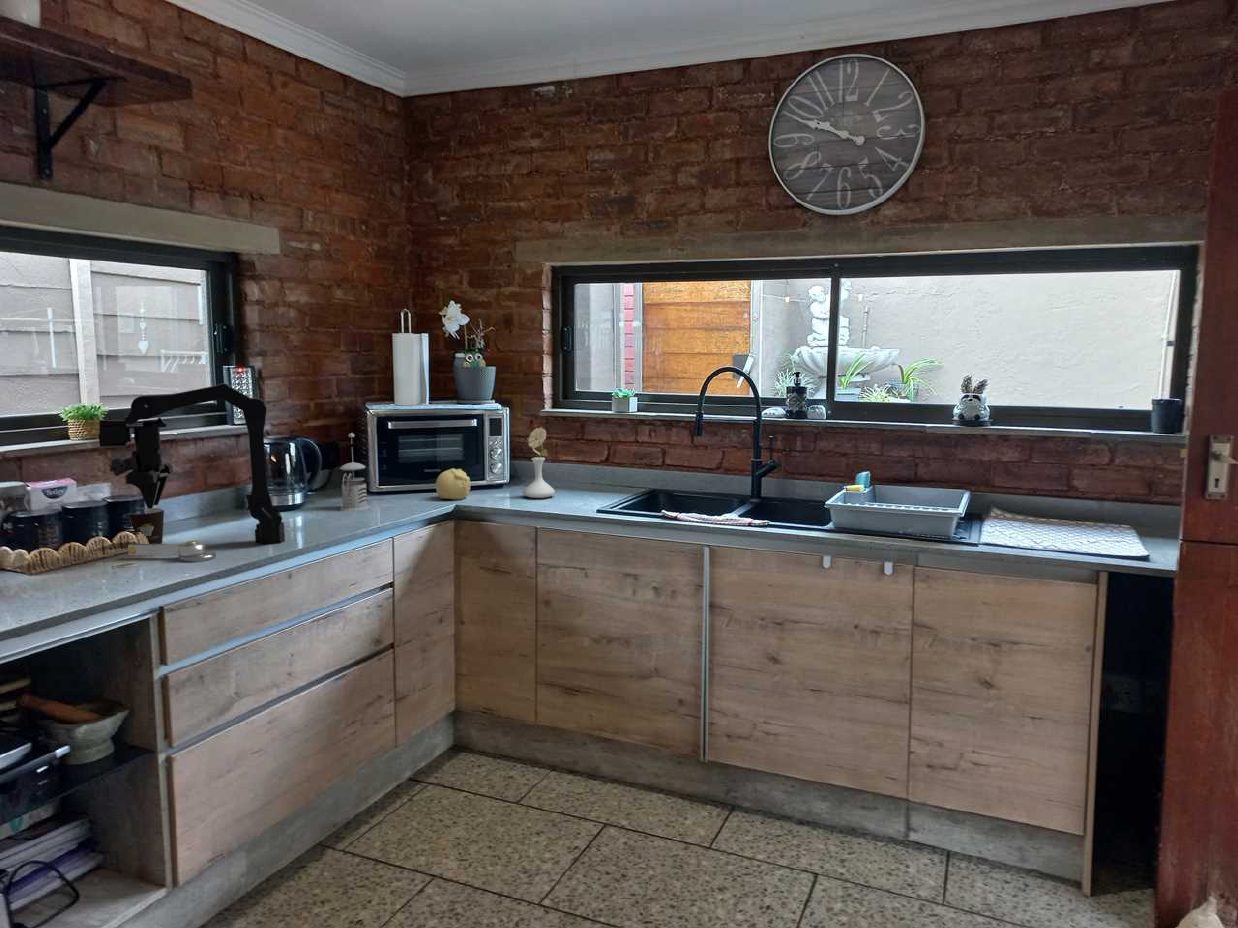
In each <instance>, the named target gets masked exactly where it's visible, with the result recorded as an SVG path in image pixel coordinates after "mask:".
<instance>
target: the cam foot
mask: <svg viewBox="0 0 1238 928" xmlns="http://www.w3.org/2000/svg"><path fill="white" fill-rule="evenodd" d="M127 546H128V547H127V548H128V555H129V556H177V557H178V561H179V562H182V563H199V562H206V561H210V560H213V559H216V558H217V552H216V551H214V550H206V543H205V542H204V541H196V540H190V541H186V542H183V543H161V544H134V543H131V544H127Z"/></svg>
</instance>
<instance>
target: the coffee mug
mask: <svg viewBox="0 0 1238 928" xmlns="http://www.w3.org/2000/svg"><path fill="white" fill-rule="evenodd" d="M144 511H145V514H130V518H131V521H132V526H133V529H134V530H135V531H138V532H141V533H142V534H144V536H146V538H147V539H148V541H149V544H163V537H164V534H163V533H164V519H165V518H164V517H165V509H164V508H163V507H153V508H149V509H148V508H147V507H146V508H145V510H144Z"/></svg>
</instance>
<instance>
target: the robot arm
mask: <svg viewBox="0 0 1238 928" xmlns="http://www.w3.org/2000/svg"><path fill="white" fill-rule="evenodd" d="M218 400H219V401H220V400H223V401H225V402H226V403H228V404H231V405H232V406H233V407H236V408H237V409H239V410H241V411H242V414H243V417H244V421H245V425H246V428H247V433H248V443H249V444H248V445H249V460H250V473H251V474H250V475H251V489H250V491H248V490H247V491H245V497H246V504H245V506H246V508H245V509H246V511H249V513H250V516H251V517H252V518H253V519H254V520H257V521H258V523H256V525H255V527H256V529H254V539H255V540H254V541H255V544H257V545H258V544H259V545H266V546H267V545H269V546H270V545H277V544H278V545H279V544H282V543H284V542H285V541H286V536H285V535H286V534H285V533H286V532H285V522H284V521H282V520H283V516H282V514H281V512H280V511H279V510H278V509H276V507H274V506H273V503H272V500H271V496H270V491H269V488H268V483H267V482H268V481H267V470H266V469H267V467H266V453H265V452H266V451H265V438H264V436H265V435H264V431H265V427H266V426H265V425H266V417H267V406H266V404H265V402H264V400H262V399H261V398H258V397H249V396H247V395H246V394H243V393H242V392H240V391H239V390H236V389H234V388H233V387H231V386H230V385H229V384H227V383H224V382H223V383H218V384H216V385H212V386H206V387H202V388H197V389H192V390H187V391H182V392H176V393H169V394H143V395H139V396H137V397H136V398H134V399H133V400H132V402H131V404H130V410H131V411H130V412H129V413H128V414H127V415H126V416H124V418H125V419H113V420H112V419H111V420H109V419H101V420H99V422H98V423H99V431H98V432H99V433H98V441H99V442H98V443H99V447H100V448H103V449H104V448H105V449H106V448H119V447H120V448H122V447H123V448H124V447H126V448H127V447H128V444H129V443H132V439H134V450H132V452H131V457H128V458H125V459H122V458H121V457H117V458H115V459H112V460H111V463H110V464H109V471H110V472H113V475H114V477H119V476H120V475H123V474H126V473H127V472H128V473H127V474H126V475H125V476H124V477H125V485H131V486H134V487H136V488H137V489H139V491H140V493H141V495H142V498H143V501H144V502H145V506H146V508H148V509H149V508H154V506H158V505H159V503H160V500H161V498H162V496H163V493H164V490H165V487H166V485H167V483H168V481H169V478H170V475H172V474H173V473H174V467H173V465H172V463H170V462H163V456H162V453H164V452H165V451H164V447H162V446H161V445H162V443H161V434H160V428H166V427H168V423H167V422H166V421H164V420H163V419H162V418H161V417H158V418H157V419H156V420H149V419H151V418H155V417H156V416H159V415H161V414H165V413H167V412H169V411H172V410H175V409H179V408H184V407H189V406H194V405H200V404H205V403H209V402H214V401H218ZM140 420H143V421H142V424H136V423H138V421H140ZM134 424H135V425H134ZM132 429H133V437H132ZM164 474H168V475H166V476H165V475H164Z"/></svg>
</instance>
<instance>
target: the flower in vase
mask: <svg viewBox="0 0 1238 928" xmlns="http://www.w3.org/2000/svg"><path fill="white" fill-rule="evenodd" d="M546 436H547V431H546V430H545V428H543V427H541V426H540V427H539V428H538V427H537V428H535V429H533V431H532V432H530V435H529V436H528V446H529V447H530V448H532V451H533V452H534V453H536V454H537V455H539V457H532V458H530V459H531V461H532V462H533V466H534V473H535V477H534V480H533V481H532V482H531V483H530V484H528V485H527V486H526V487H525V488H524V490H523V491H522V494H523V496H525V497H527V498H532V499H537V498H538V499H542V498H543V499H545V498H549V497H552V496H554V495H555V494H556V491H555V489H554V488H553V486H551V485H549V484H548V483H547V482H546V481H545V480H544V479H543V475H542V474H543V471H542V470H543V465H544V461H546V458H545V456H549V454H548V452H547V449H546V448H545V449H544V447H543V446H544V445H543V443H544V442H545V440H546V439H547V437H546ZM539 447H541V452H539V451H537V450H536V448H539ZM541 456H542V457H541Z"/></svg>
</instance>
